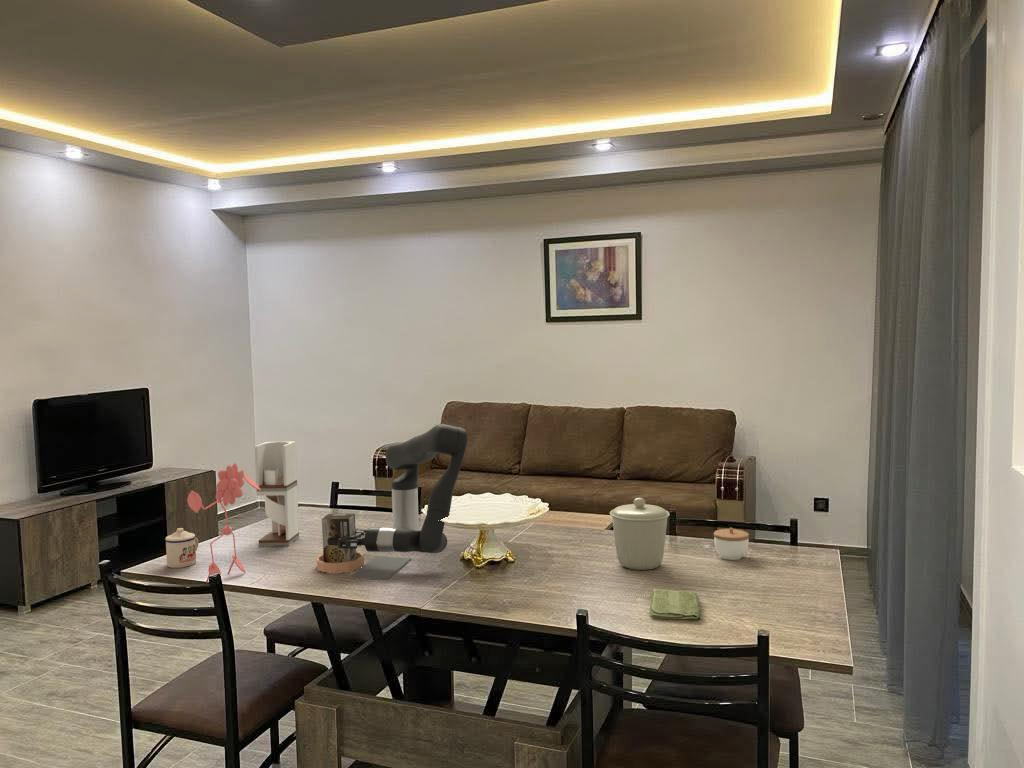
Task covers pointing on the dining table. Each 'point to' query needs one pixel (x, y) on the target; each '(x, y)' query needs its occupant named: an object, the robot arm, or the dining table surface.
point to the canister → (639, 534)
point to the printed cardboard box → (338, 529)
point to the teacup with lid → (181, 549)
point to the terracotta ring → (340, 564)
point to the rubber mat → (381, 567)
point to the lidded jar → (731, 543)
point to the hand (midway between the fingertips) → (333, 537)
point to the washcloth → (674, 605)
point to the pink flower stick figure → (229, 491)
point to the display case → (278, 490)
